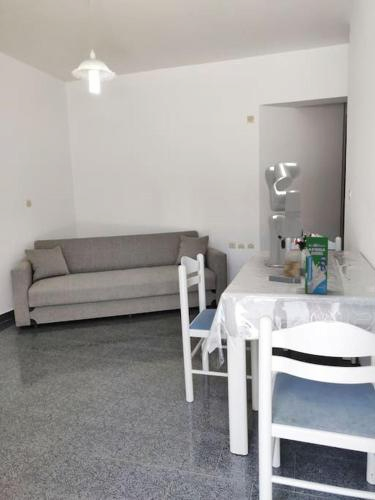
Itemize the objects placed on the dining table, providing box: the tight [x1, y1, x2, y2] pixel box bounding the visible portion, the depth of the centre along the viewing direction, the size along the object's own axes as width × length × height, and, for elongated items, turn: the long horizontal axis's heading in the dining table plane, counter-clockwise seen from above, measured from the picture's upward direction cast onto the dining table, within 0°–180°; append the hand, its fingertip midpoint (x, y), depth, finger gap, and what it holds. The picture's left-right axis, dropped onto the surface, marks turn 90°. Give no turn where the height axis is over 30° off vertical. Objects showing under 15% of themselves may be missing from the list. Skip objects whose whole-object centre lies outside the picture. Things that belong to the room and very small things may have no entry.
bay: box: [268, 267, 305, 285], centre depth 193 cm, size 15×20×5 cm
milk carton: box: [304, 235, 329, 295], centre depth 170 cm, size 9×9×25 cm
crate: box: [283, 260, 301, 278], centre depth 198 cm, size 6×6×7 cm
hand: (292, 248), depth 196 cm, fingers open, 9 cm apart
